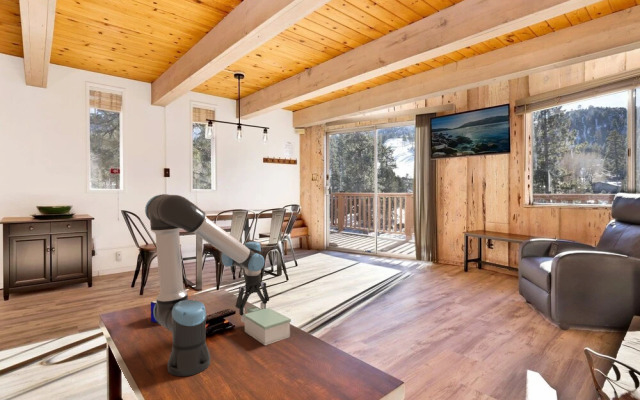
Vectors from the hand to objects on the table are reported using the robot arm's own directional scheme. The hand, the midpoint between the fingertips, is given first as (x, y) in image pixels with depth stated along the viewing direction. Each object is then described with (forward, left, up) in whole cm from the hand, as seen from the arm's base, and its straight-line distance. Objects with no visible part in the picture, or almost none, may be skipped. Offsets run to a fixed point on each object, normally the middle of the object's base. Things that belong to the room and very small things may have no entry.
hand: (252, 318), depth 164 cm
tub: (-12, -5, -3) cm, 13 cm away
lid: (-9, -4, +3) cm, 10 cm away
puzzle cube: (+19, +42, -4) cm, 46 cm away
